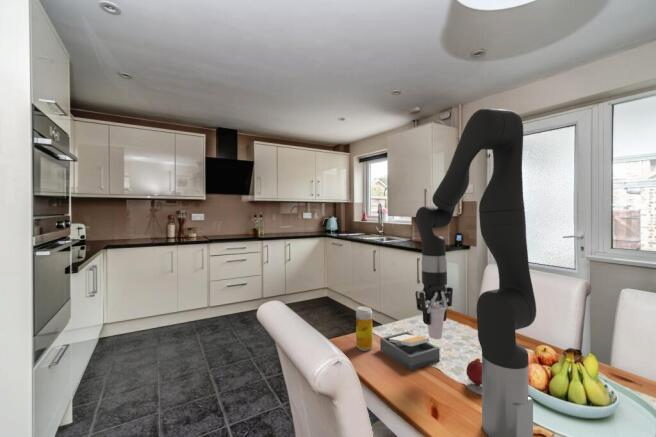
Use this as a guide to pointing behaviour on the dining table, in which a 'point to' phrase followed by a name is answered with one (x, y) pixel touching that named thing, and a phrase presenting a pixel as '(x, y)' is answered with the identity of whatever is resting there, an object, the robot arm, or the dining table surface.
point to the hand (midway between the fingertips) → (435, 321)
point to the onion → (475, 371)
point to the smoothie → (436, 321)
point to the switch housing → (410, 353)
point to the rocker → (408, 340)
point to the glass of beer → (364, 328)
